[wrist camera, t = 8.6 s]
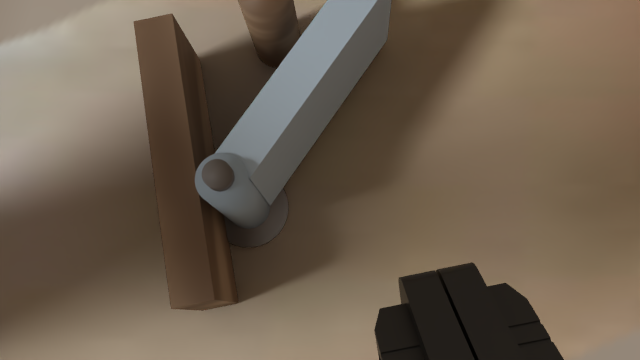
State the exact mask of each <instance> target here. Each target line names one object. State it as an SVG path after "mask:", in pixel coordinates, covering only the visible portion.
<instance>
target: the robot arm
mask: <svg viewBox="0 0 640 360" xmlns="http://www.w3.org/2000/svg"><path fill="white" fill-rule="evenodd" d="M399 289H400V297H401V305H396V306H391V307H386V308H381V309H380V310H379V314H378V318H377V322H376V326H375V336H376V342H377V349H378V355H379V360H564V359H563V358H562V356H561V354H560V353H559V351H558V349H557V348H556V346H555V344H554V343H553V342H551V339H550V336H549V334H548V333H547V331H546V329H545V328H544V326H543V324H541V323H540V320H539V318H538V316H537V315H536V313H535V311H534V310H533V308H532V306H531V305H530V303H529V301H528V300H527V299H526V298H525V297H524V296H522V295H521V294H520V293H518V292H517V291H516V290H514V289H513V288H512V287H510V286H509V285H508V284H506V283H503V284H498V285H493V286H488V287H487V286H486V284H485V282H484V280H483V278H482V276H481V274H480V273H479V271H478V269H477V267H476V266H475V264H474V263H467V264H462V265H458V266H453V267H448V268H443V269H438V270H436V272H435V271H429V272H424V273H419V274H414V275H409V276H404V277H399Z"/></svg>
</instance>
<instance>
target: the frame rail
mask: <svg viewBox="0 0 640 360" xmlns="http://www.w3.org/2000/svg"><path fill="white" fill-rule="evenodd" d="M134 28H135V35H136V43H137V51H138V59H139V66H140V74H141V82H142V89H143V97H144V105H145V112H146V120H147V128H148V136H149V143H150V151H151V159H152V166H153V174H154V182H155V189H156V197H157V205H158V213H159V220H160V228H161V236H162V243H163V251H164V259H165V266H166V274H167V282H168V290H169V297H170V305H171V309H185V310H202V311H203V310H207V309H212V308H217V307H222V306H227V305H232V304H237V303H238V296H237V290H236V284H235V278H234V271H233V265H232V259H231V252H230V246H229V242H230V243H232V244H234V245H236V246H240V247H257V246H260V245H263V244H265V243H267V242H269V241H271V240H272V239H273V238H275V237H276V236H277V235H278V234H279V232H280V231H281V230H282V228H283V227H284V225H285V222H286V220H287V216H288V199H287V195H286V193H285V191H284V189H283V188H282V190H281V191H280V193H279V194H278V195H277V197H276V198H275V200H274V201H273V203H272V204H271V205H270V212H269V215H268V217H267V219H266V220H265V221H264V222H263V223H262V224H261V225H259V226H258V227H255V228H250V229H246V228H241V227H239V226H237V225H236V224H234V223H233V222H232V221H231V220H229V219H228V218H227V217H226V216H224V215H223V214H222V213H221V212H219V211H218V210H217V209H216V208H214V207H213V206H212V205H211V204H209V203H208V202H207V201H206V200H204V199H203V198H202V197H201V196H200V195H199V193H198V191H197V189H196V186H195V174H196V171H197V168H198V167H199V165H200V164H201V162H202V161H203V160H204V159H206V158H207V157H209V156H210V155H213V154H215V151H214V145H213V139H212V132H211V126H210V120H209V113H208V107H207V101H206V94H205V88H204V82H203V76H202V69H201V63H200V59H199V58H198V56H197V54H196V53H195V51H194V49H193V48H192V46H191V44H190V43H189V41H188V39H187V38H186V36H185V34H184V33H183V31H182V29H181V28H180V26H179V24H178V23H177V21H176V19H175V18H174V16H173V14H167V15H163V16H158V17H153V18H148V19H144V20H139V21H134ZM234 178H235V175H234V171H233V169H232V168H231V167H230V166H229V164H228V163H227V162H225V161H224V160H221V159H213V160H210V161H209V162H207V163H206V164H205V165H204V167H203V169H202V179H203V181H204V183H205V184H206V185H207V186H208V187H210V188H211V189H212V190H214V191H218V192H221V191H225V190H227V189H229V188H230V187H231V186H232V184H233V182H234Z"/></svg>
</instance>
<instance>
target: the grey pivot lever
mask: <svg viewBox="0 0 640 360" xmlns="http://www.w3.org/2000/svg"><path fill="white" fill-rule="evenodd" d="M391 1H392V0H327V2H326V3H325V4H324V6H323V7H322V8H321V10H320V11H319V12H318V14H317V15H316V16H315V18H314V19H313V21H312V22H311V23H310V25H309V26H308V27H307V29H306V30H305V31H304V33H303V34H302V35H301V37H300V38H299V40H298V41H297V42H296V44H295V45H294V46H293V48H292V49H291V50H290V52H289V53H288V54H287V56H286V57H285V59H284V60H283V61H282V63H281V64H280V65H279V67H278V68H277V69H276V71H275V72H274V73H273V75H272V76H271V78H270V79H269V80H268V82H267V83H266V84H265V86H264V87H263V88H262V90H261V91H260V92H259V94H258V95H257V97H256V98H255V99H254V101H253V102H252V103H251V105H250V106H249V107H248V109H247V110H246V111H245V113H244V114H243V116H242V117H241V118H240V120H239V121H238V122H237V124H236V125H235V126H234V128H233V129H232V130H231V132H230V133H229V135H228V136H227V137H226V139H225V140H224V141H223V143H222V144H221V145H220V147H219V148H218V150H217V151H216V152H215V154H213V155H210V156H209V157H207V158H206V159H204V160H203V161H202V162H201V164H200V165H199V167H198V168H197V171H196V174H195V186H196V189H197V191H198V193H199V195H200V196H201V197H202V198H203V199H204V200H206V201H207V202H208V203H209V204H211V205H212V206H213V207H214V208H216V209H217V210H218V211H219V212H221V213H222V214H223V215H224V216H226V217H227V218H228V219H229V220H231V221H232V222H233V223H234V224H236V225H237V226H239V227H241V228H246V229H250V228H255V227H258V226H259V225H261V224H262V223H263V222H264V221H265V220H266V219H267V217H268V215H269V212H270V205H271V204H272V203H273V201H274V200H275V198H276V197H277V195H278V194H279V193H280V191H281V190H282V188H283V187H284V186H285V184H286V183H287V181H288V180H289V178H290V177H291V176H292V174H293V173H294V171H295V170H296V169H297V167H298V166H299V164H300V163H301V161H302V160H303V159H304V157H305V156H306V154H307V153H308V151H309V150H310V149H311V147H312V146H313V144H314V143H315V142H316V140H317V139H318V137H319V136H320V134H321V133H322V132H323V130H324V129H325V127H326V126H327V125H328V123H329V122H330V120H331V119H332V117H333V116H334V115H335V113H336V112H337V110H338V109H339V107H340V106H341V105H342V103H343V102H344V100H345V99H346V98H347V96H348V95H349V93H350V92H351V90H352V89H353V88H354V86H355V85H356V83H357V82H358V80H359V79H360V78H361V76H362V75H363V73H364V72H365V71H366V69H367V68H368V66H369V65H370V63H371V62H372V61H373V59H374V58H375V56H376V55H377V54H378V52H379V51H380V49H381V48H382V46H383V45H384V44H385V42H386V41H387V37H388V28H389V19H390V10H391ZM213 159H221V160H224V161H225V162H227V163H228V164H229V166H230V167H231V168H232V169H233V171H234V175H235V178H234V182H233V184H232V186H231V187H230V188H229V189H227V190H225V191H221V192H218V191H214V190H212V189H211V188H210V187H208V186H207V185H206V184H205V183H204V181H203V179H202V169H203V167H204V165H205V164H206V163H207V162H209V161H210V160H213Z"/></svg>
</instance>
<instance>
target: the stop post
mask: <svg viewBox="0 0 640 360" xmlns="http://www.w3.org/2000/svg"><path fill="white" fill-rule="evenodd" d="M238 2H239V5H240V8H241V10H242V13H243V16H244V19H245V21H246V24H247V27H248V29H249V32H250V35H251V37H252V40H253V43H254V46H255V48H256V51H257V54H258V56H259V58H260V59H261V61H262V62H263V63H265V64H266V65H268V66H271V67H275V68H278V67H279V65H280V64H281V63H282V61H283V60H284V59H285V57H286V56H287V54H288V53H289V52H290V50H291V49H292V48H293V46H294V45H295V44H296V42H297V41H298V40H299V38H300V32H299V27H298V22H297V17H296V11H295V6H294V1H293V0H238Z"/></svg>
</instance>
